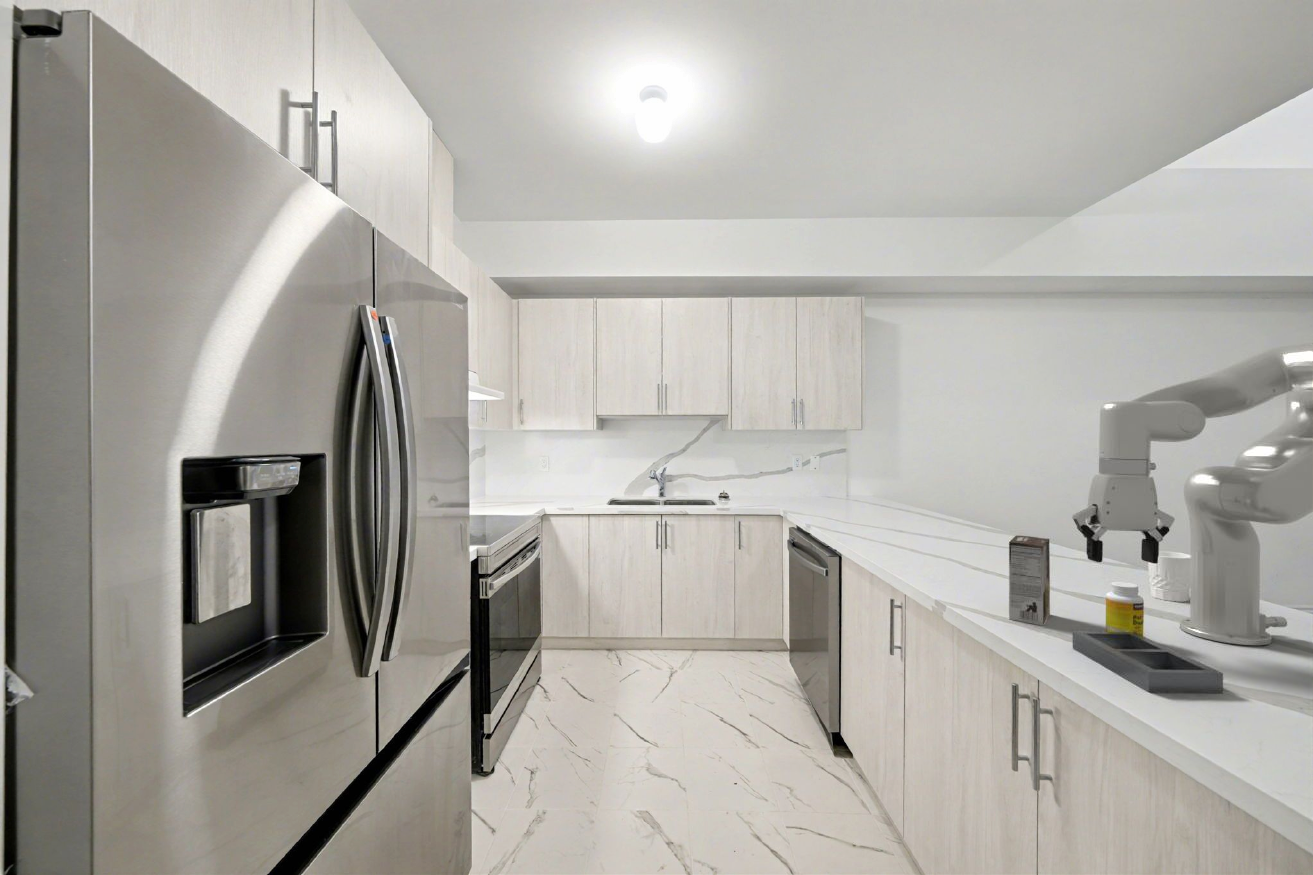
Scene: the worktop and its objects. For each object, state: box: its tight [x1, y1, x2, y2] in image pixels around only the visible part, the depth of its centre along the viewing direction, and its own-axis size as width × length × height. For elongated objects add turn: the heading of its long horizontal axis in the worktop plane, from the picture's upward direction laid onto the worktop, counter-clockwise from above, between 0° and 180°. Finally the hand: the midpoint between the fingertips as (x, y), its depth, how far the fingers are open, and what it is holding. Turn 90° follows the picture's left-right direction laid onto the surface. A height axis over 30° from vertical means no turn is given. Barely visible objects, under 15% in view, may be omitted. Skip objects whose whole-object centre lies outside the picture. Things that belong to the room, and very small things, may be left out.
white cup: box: [1147, 550, 1191, 603], centre depth 139 cm, size 8×8×10 cm
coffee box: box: [1008, 535, 1051, 626], centre depth 126 cm, size 9×6×16 cm
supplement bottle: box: [1105, 581, 1145, 636], centre depth 112 cm, size 6×6×10 cm
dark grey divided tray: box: [1072, 631, 1224, 694], centre depth 99 cm, size 18×10×3 cm, turn 177°
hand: (1122, 561), depth 112 cm, fingers open, 9 cm apart
